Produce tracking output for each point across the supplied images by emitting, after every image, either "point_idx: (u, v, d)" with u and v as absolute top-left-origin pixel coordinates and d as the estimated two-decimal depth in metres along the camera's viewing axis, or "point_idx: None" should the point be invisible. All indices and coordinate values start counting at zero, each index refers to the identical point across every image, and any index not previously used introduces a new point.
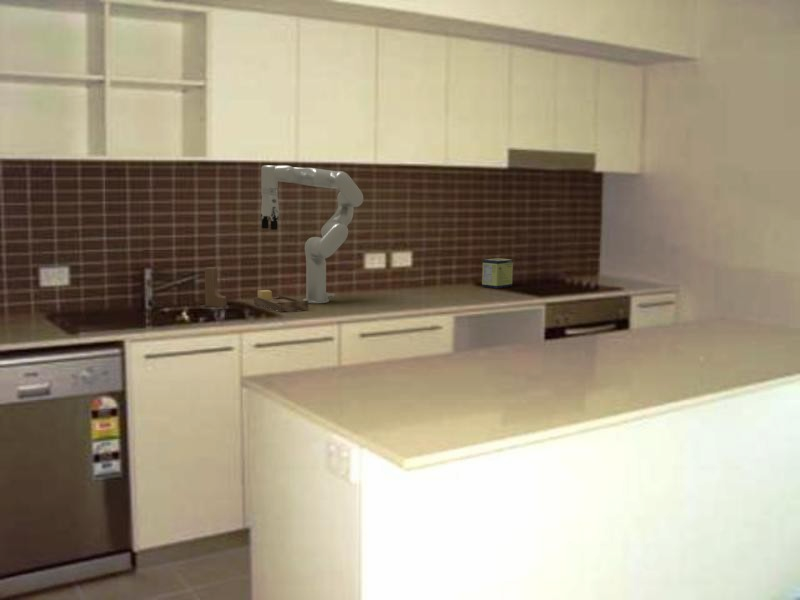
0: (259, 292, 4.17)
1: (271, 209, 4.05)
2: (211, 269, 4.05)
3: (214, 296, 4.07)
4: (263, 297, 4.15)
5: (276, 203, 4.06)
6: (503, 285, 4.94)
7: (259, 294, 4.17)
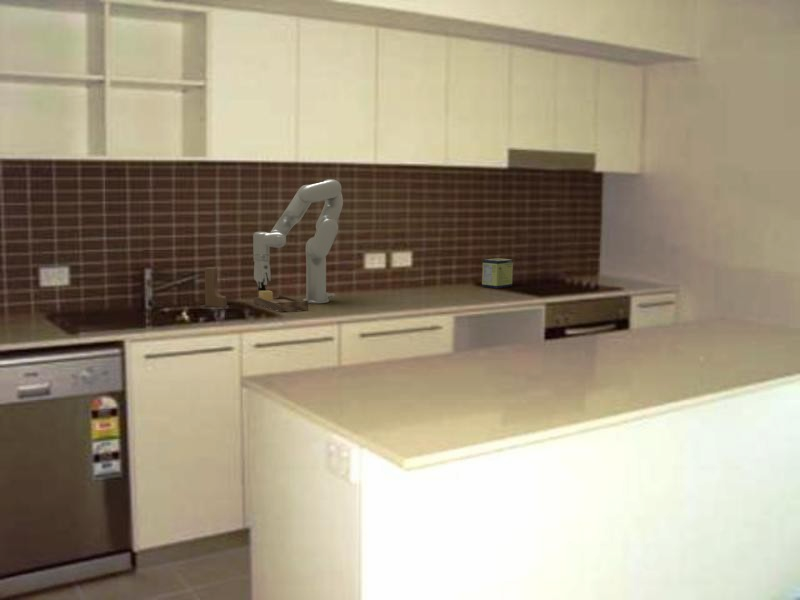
0: (260, 292, 4.16)
1: (263, 275, 4.15)
2: (211, 269, 4.05)
3: (214, 296, 4.07)
4: (264, 297, 4.14)
5: (268, 269, 4.16)
6: (503, 285, 4.94)
7: (260, 294, 4.16)
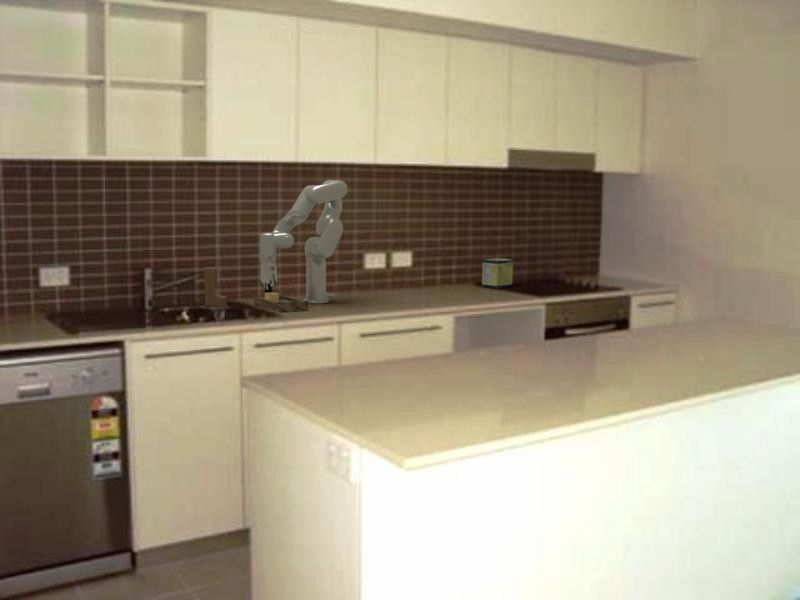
0: (266, 294, 4.09)
1: (270, 277, 4.08)
2: (211, 269, 4.05)
3: (214, 296, 4.07)
4: (270, 300, 4.08)
5: (274, 270, 4.09)
6: (503, 285, 4.94)
7: (266, 296, 4.10)
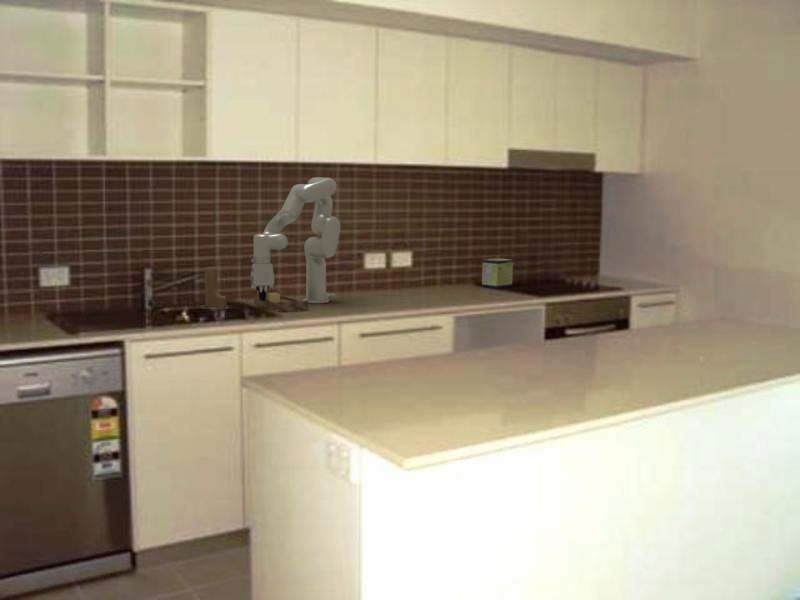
0: (267, 295, 4.09)
1: (251, 278, 4.05)
2: (211, 269, 4.05)
3: (214, 296, 4.07)
4: (271, 300, 4.07)
5: (253, 272, 4.03)
6: (503, 285, 4.94)
7: (267, 297, 4.09)
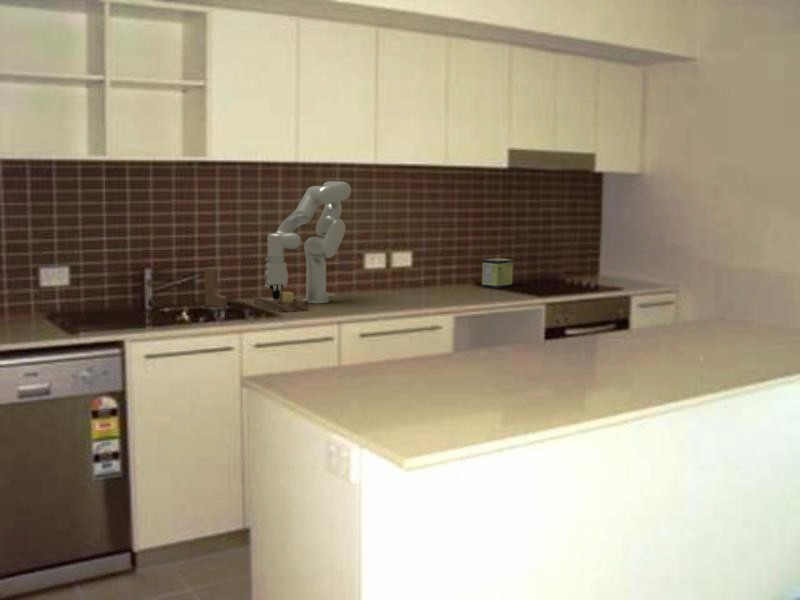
0: (280, 294, 4.12)
1: None
2: (211, 269, 4.05)
3: (214, 296, 4.07)
4: (284, 299, 4.10)
5: (267, 271, 4.06)
6: (503, 285, 4.94)
7: (280, 296, 4.12)
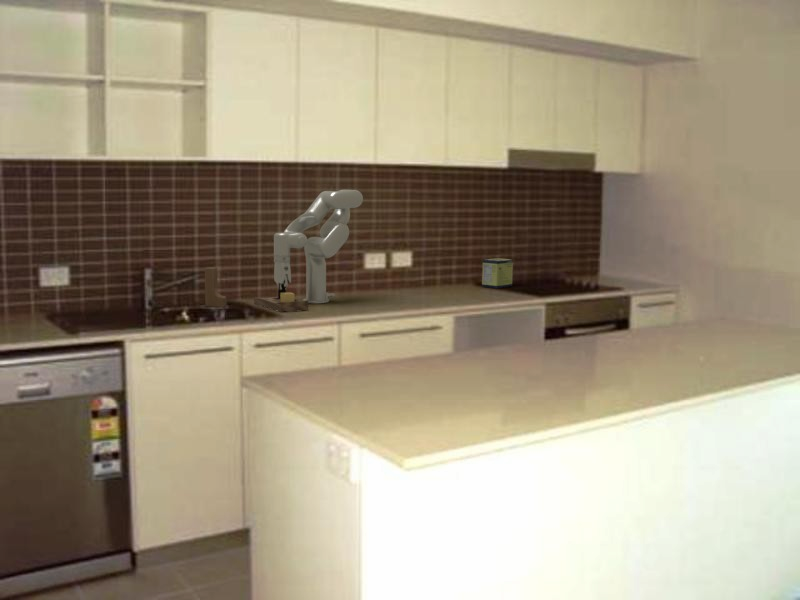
0: (282, 294, 4.11)
1: (283, 277, 4.09)
2: (211, 269, 4.05)
3: (214, 296, 4.07)
4: (286, 299, 4.09)
5: (288, 270, 4.10)
6: (503, 285, 4.94)
7: (282, 296, 4.11)
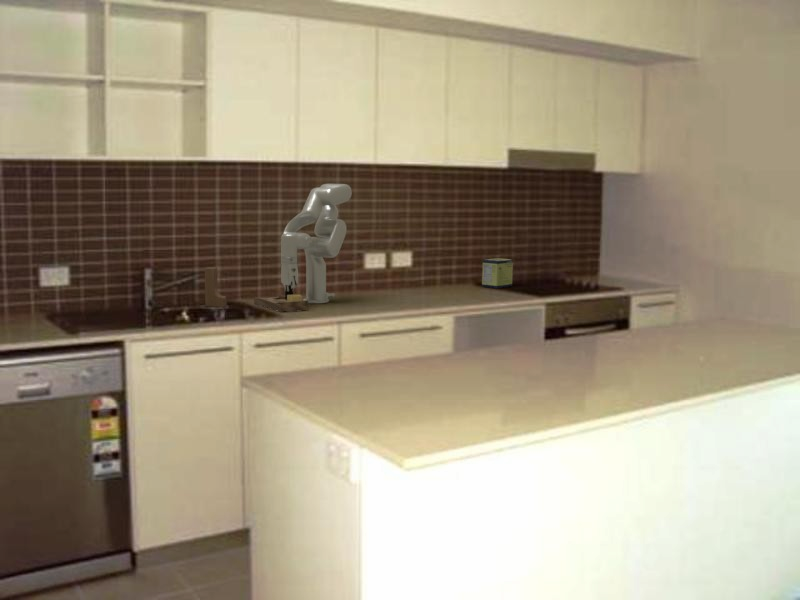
0: (289, 297, 4.04)
1: (291, 278, 4.02)
2: (211, 269, 4.05)
3: (214, 296, 4.07)
4: None
5: (296, 272, 4.03)
6: (503, 285, 4.94)
7: (289, 299, 4.04)
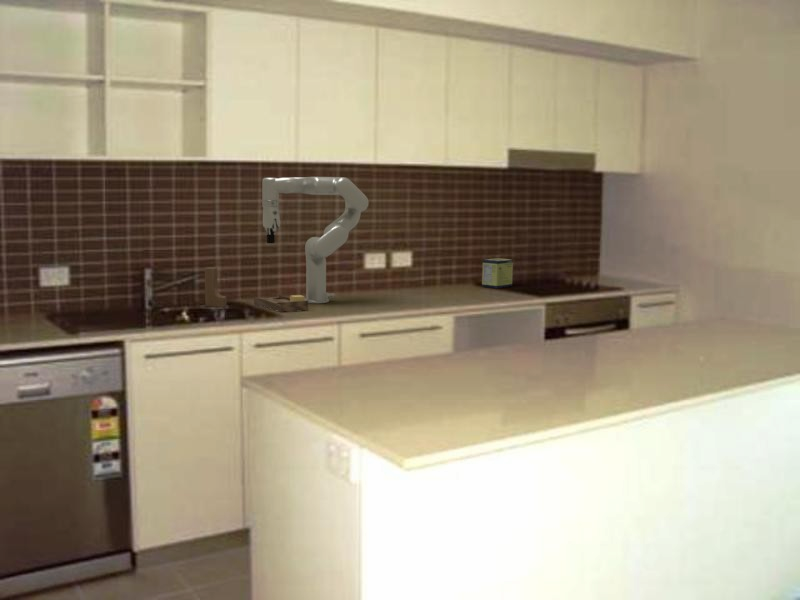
0: (291, 297, 4.01)
1: (272, 221, 4.10)
2: (211, 269, 4.05)
3: (214, 296, 4.07)
4: None
5: (277, 215, 4.11)
6: (503, 285, 4.94)
7: (291, 299, 4.01)
